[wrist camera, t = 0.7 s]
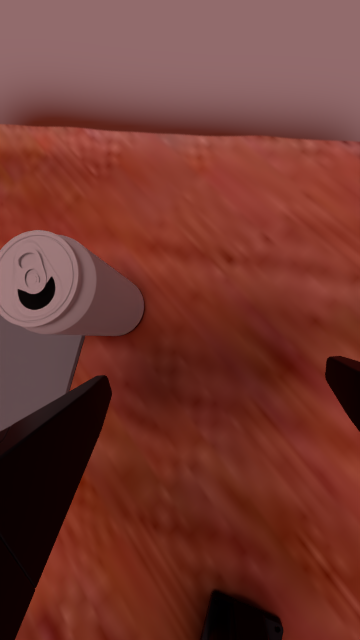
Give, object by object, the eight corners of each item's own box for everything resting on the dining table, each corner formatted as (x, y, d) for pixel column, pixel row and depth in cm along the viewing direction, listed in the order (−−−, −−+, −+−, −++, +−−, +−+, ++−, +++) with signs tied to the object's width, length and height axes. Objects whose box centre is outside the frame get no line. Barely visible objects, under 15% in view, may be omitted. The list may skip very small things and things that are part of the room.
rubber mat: (45, 475, 23) (40, 479, 22) (-70, 429, 25) (-77, 431, 25) (85, 335, 24) (82, 335, 23) (-30, 302, 26) (-36, 301, 26)
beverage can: (100, 343, 24) (-7, 349, 12) (86, 290, 24) (-29, 245, 12) (153, 325, 23) (96, 312, 11) (136, 271, 24) (67, 206, 12)
